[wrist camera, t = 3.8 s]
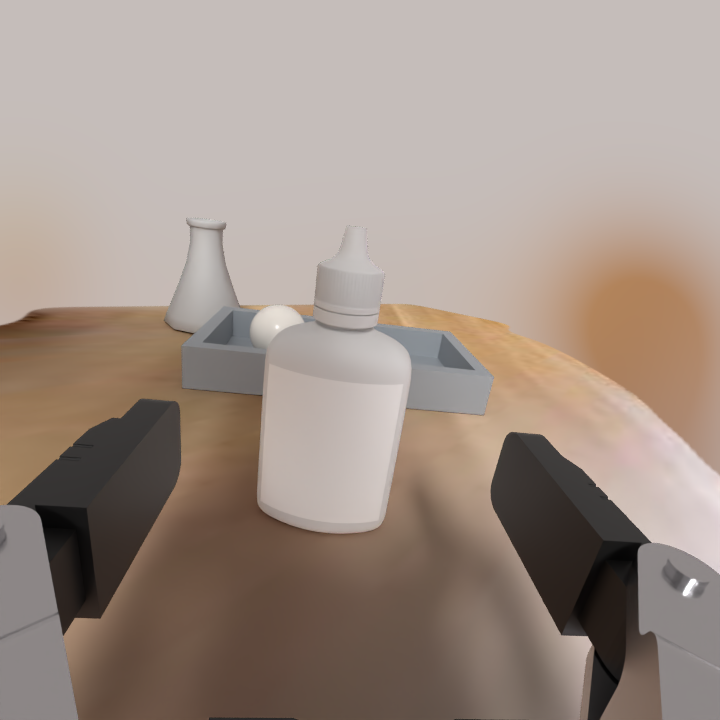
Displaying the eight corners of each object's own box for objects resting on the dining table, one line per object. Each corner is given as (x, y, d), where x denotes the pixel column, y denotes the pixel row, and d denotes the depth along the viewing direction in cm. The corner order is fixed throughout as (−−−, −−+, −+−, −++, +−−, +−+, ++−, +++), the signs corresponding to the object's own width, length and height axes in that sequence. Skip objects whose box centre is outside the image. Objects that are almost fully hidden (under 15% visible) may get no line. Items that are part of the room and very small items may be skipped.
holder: (182, 388, 27) (181, 345, 26) (223, 338, 37) (223, 306, 36) (483, 415, 29) (493, 377, 28) (443, 360, 39) (450, 331, 38)
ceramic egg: (243, 366, 30) (245, 309, 29) (253, 347, 34) (256, 296, 33) (302, 372, 31) (307, 315, 29) (305, 352, 35) (310, 302, 33)
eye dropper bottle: (344, 571, 15) (397, 237, 11) (240, 501, 18) (251, 212, 14) (399, 510, 18) (455, 240, 14) (306, 459, 21) (330, 220, 17)
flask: (210, 312, 45) (211, 217, 41) (259, 328, 42) (264, 227, 38) (149, 322, 39) (144, 212, 35) (200, 342, 35) (200, 223, 32)
